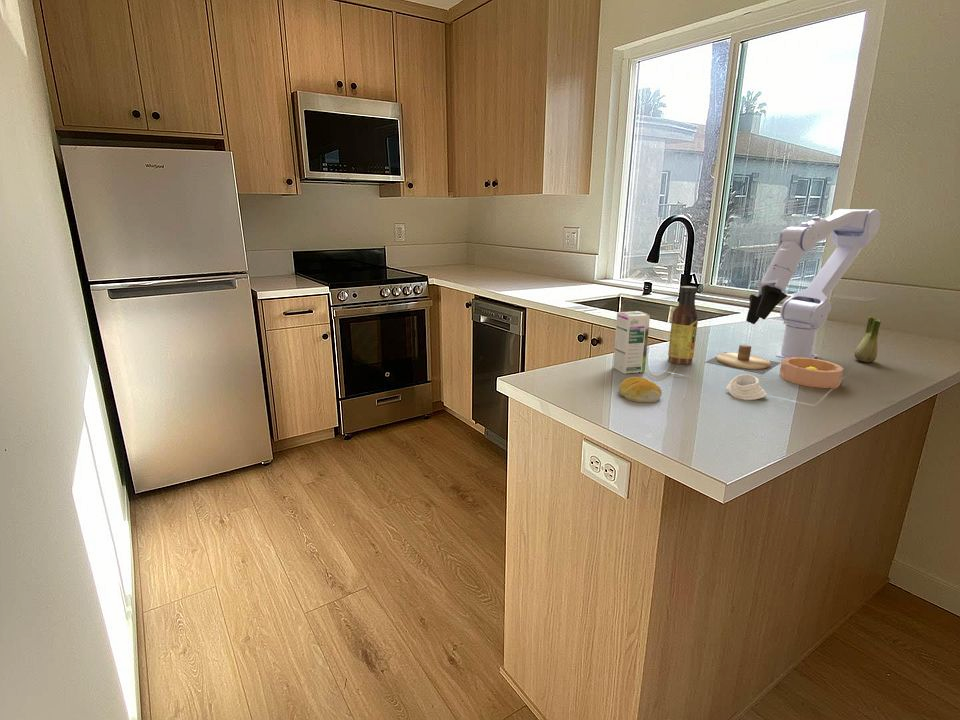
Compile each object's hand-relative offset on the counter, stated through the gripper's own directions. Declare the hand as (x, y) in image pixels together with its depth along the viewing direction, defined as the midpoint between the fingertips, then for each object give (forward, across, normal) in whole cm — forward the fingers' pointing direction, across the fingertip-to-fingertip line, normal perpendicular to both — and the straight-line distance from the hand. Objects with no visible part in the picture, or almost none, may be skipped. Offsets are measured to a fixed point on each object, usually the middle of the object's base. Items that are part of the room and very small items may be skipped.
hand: (755, 320), depth 130 cm
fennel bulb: (-6, -18, +33) cm, 38 cm away
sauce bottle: (+17, -5, -11) cm, 21 cm away
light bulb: (+9, +3, +16) cm, 19 cm away
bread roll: (+32, +22, -18) cm, 43 cm away
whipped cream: (+21, +16, +2) cm, 27 cm away
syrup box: (+26, +5, -22) cm, 34 cm away
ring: (+9, +3, +16) cm, 19 cm away
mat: (+10, -7, +4) cm, 13 cm away
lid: (+9, -7, +4) cm, 12 cm away
